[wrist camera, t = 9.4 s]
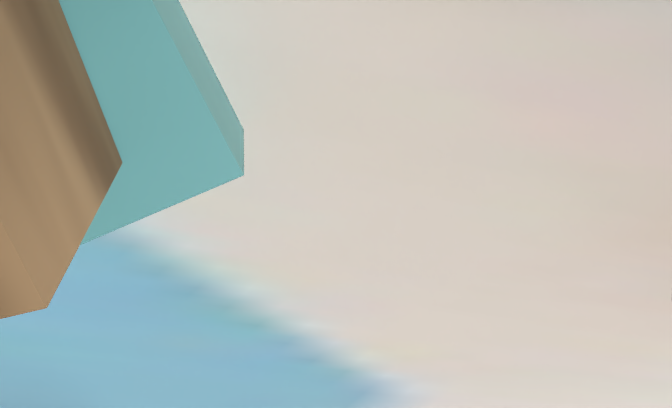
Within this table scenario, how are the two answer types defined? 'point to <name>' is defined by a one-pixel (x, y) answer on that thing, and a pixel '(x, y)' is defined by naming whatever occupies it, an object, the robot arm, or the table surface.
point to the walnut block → (45, 153)
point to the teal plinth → (154, 106)
